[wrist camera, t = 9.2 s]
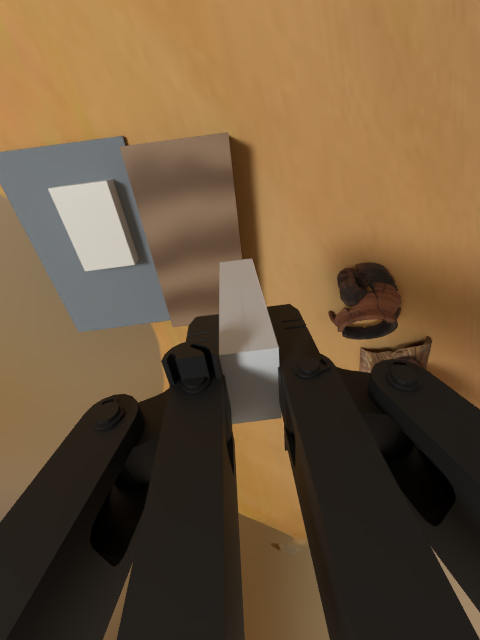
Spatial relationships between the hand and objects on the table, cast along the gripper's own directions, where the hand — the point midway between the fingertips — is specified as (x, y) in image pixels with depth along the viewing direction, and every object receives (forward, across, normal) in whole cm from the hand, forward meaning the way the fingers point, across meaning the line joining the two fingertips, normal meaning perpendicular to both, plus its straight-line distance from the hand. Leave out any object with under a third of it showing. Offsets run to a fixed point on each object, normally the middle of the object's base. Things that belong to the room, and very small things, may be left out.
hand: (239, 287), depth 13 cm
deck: (+22, -4, -3) cm, 23 cm away
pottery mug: (+23, +16, -13) cm, 31 cm away
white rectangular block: (+20, -15, 0) cm, 25 cm away
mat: (+22, -17, -3) cm, 28 cm away
